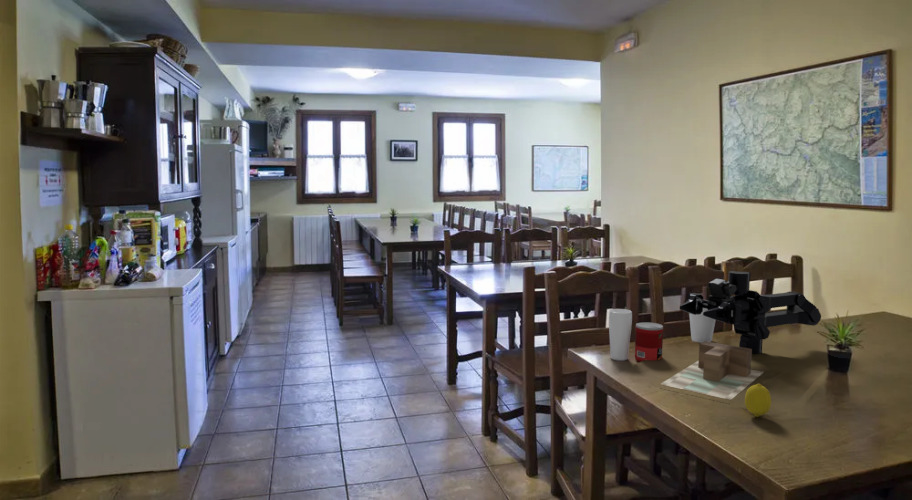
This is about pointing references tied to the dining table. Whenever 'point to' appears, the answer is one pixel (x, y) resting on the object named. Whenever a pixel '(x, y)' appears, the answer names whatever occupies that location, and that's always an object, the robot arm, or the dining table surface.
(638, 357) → the canned food
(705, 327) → the foam cup
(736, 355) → the t block
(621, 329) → the light grey tumbler
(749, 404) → the lemon
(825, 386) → the dining table surface
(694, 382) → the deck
